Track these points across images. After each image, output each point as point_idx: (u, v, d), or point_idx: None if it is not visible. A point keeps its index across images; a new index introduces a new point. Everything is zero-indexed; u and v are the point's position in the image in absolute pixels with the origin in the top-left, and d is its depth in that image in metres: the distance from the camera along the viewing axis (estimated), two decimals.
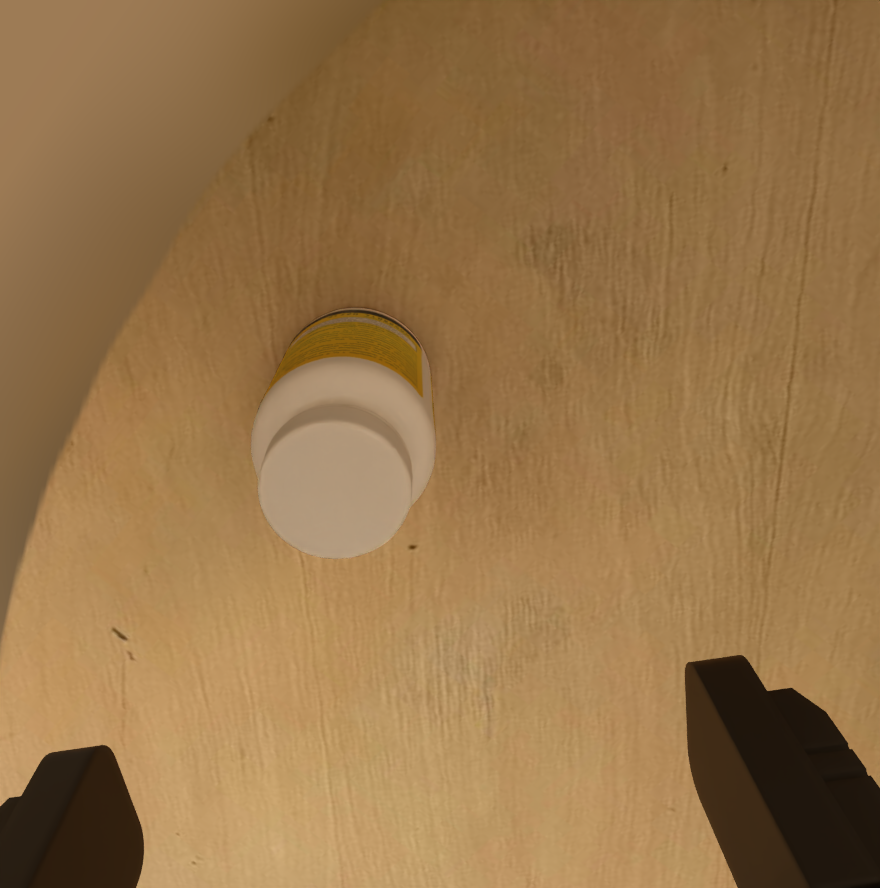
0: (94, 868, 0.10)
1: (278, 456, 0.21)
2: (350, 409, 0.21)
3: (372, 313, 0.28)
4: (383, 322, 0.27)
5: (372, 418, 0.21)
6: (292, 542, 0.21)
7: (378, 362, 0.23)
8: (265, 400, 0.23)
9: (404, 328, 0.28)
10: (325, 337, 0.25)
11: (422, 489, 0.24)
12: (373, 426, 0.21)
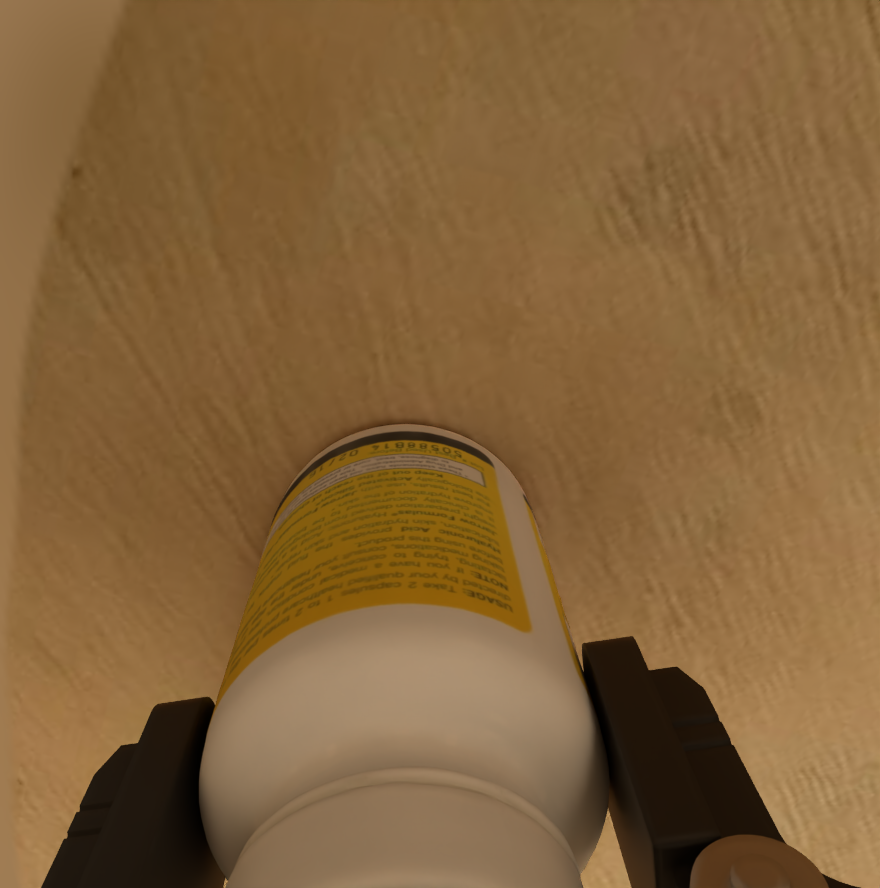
0: None
1: None
2: (369, 801, 0.08)
3: (384, 437, 0.15)
4: (407, 452, 0.14)
5: (430, 806, 0.08)
6: None
7: (409, 601, 0.10)
8: (201, 767, 0.10)
9: (450, 441, 0.15)
10: (298, 548, 0.12)
11: (602, 823, 0.11)
12: (437, 851, 0.08)
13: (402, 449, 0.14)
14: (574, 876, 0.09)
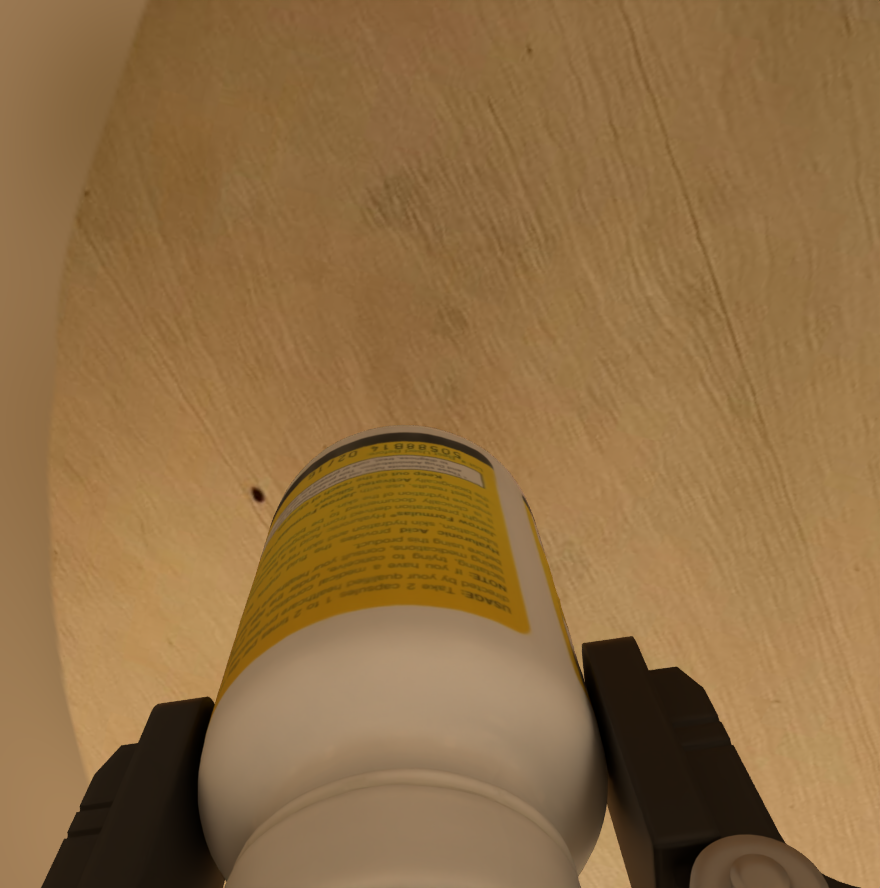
0: None
1: None
2: (367, 803, 0.08)
3: (383, 438, 0.15)
4: (406, 453, 0.14)
5: (428, 807, 0.08)
6: None
7: (407, 602, 0.10)
8: (200, 768, 0.10)
9: (449, 442, 0.15)
10: (297, 549, 0.12)
11: (601, 825, 0.11)
12: (435, 853, 0.08)
13: (401, 450, 0.14)
14: (572, 877, 0.09)
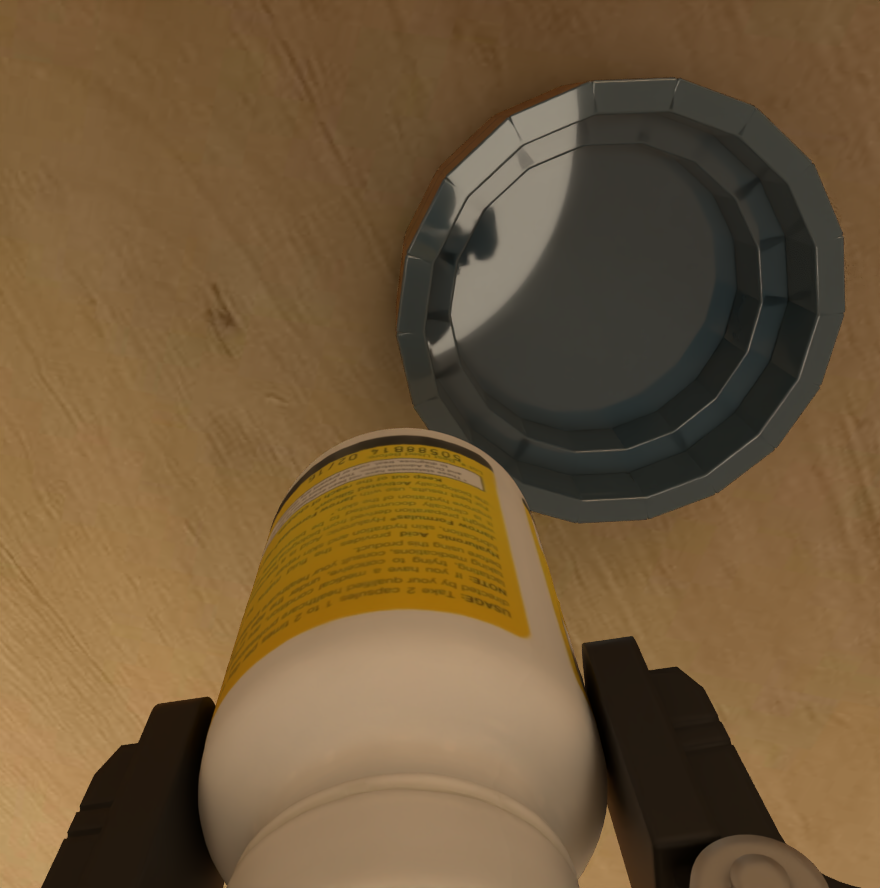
0: None
1: None
2: (367, 808, 0.08)
3: (383, 441, 0.15)
4: (406, 456, 0.14)
5: (428, 812, 0.08)
6: None
7: (406, 607, 0.10)
8: (200, 772, 0.10)
9: (449, 445, 0.15)
10: (297, 552, 0.12)
11: (601, 828, 0.11)
12: (435, 858, 0.08)
13: (401, 453, 0.15)
14: (572, 882, 0.09)
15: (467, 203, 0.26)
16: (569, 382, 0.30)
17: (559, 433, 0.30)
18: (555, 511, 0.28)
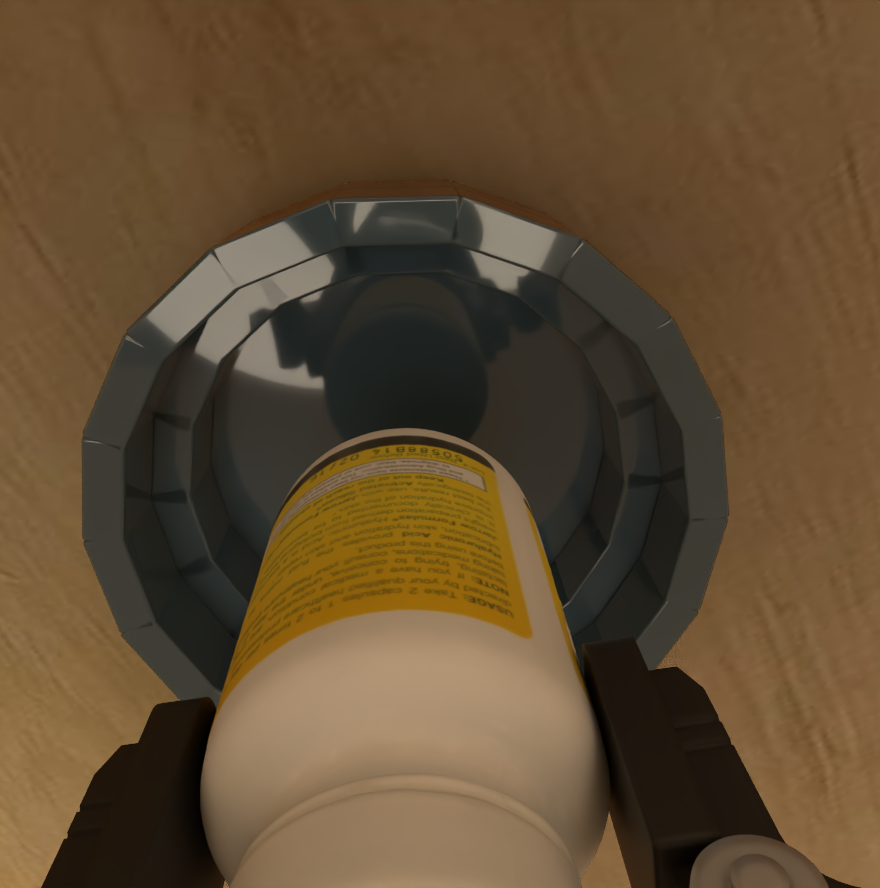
0: None
1: None
2: (370, 808, 0.08)
3: (384, 442, 0.15)
4: (407, 456, 0.14)
5: (431, 813, 0.08)
6: None
7: (409, 607, 0.10)
8: (203, 773, 0.10)
9: (450, 445, 0.15)
10: (299, 553, 0.12)
11: (603, 829, 0.11)
12: (438, 858, 0.08)
13: (403, 453, 0.15)
14: (575, 882, 0.09)
15: (198, 351, 0.18)
16: None
17: None
18: None
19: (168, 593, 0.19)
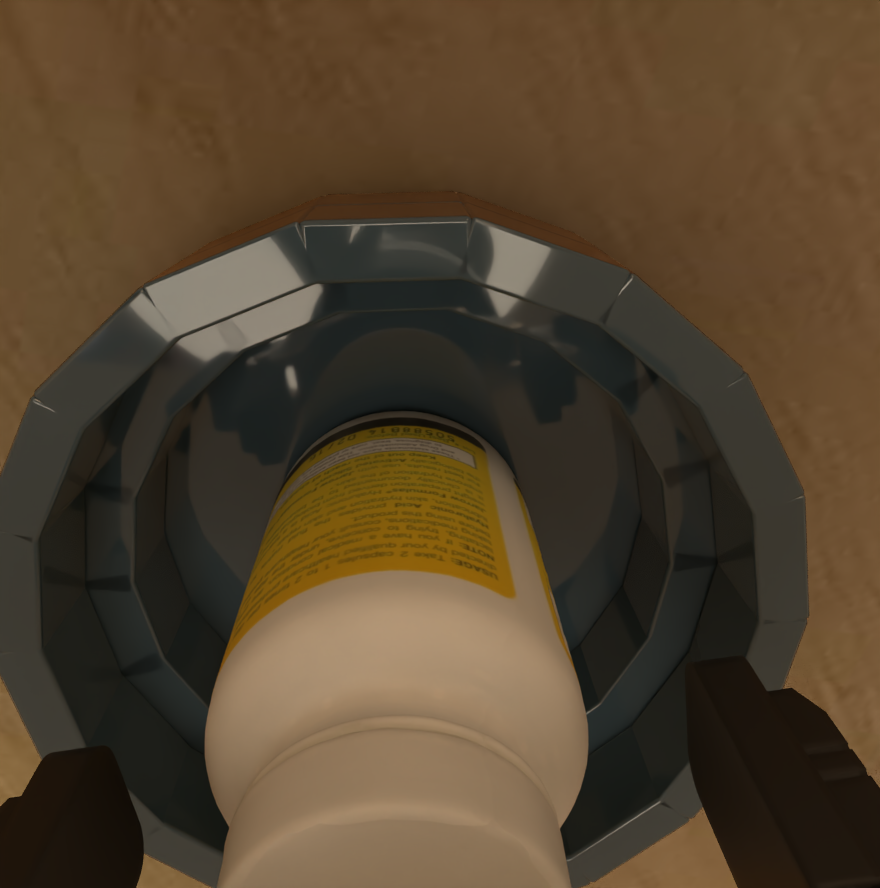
0: (94, 868, 0.10)
1: None
2: (361, 744, 0.09)
3: (380, 423, 0.16)
4: (402, 436, 0.15)
5: (417, 747, 0.09)
6: None
7: (399, 568, 0.11)
8: (207, 723, 0.11)
9: (443, 426, 0.16)
10: (298, 523, 0.13)
11: (582, 778, 0.11)
12: (422, 785, 0.08)
13: (397, 434, 0.15)
14: (550, 816, 0.09)
15: (139, 407, 0.14)
16: None
17: None
18: None
19: (106, 704, 0.16)
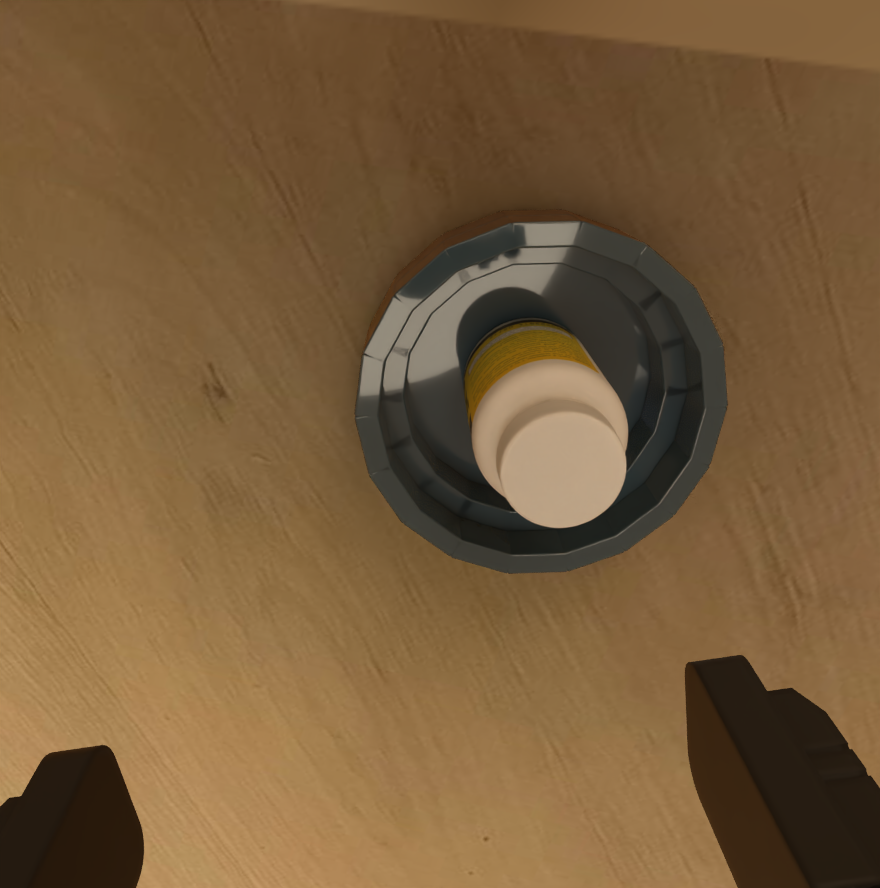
0: (94, 868, 0.10)
1: (510, 458, 0.25)
2: (552, 402, 0.25)
3: (523, 321, 0.32)
4: (536, 325, 0.32)
5: (571, 403, 0.25)
6: (542, 522, 0.26)
7: (554, 358, 0.27)
8: (476, 420, 0.28)
9: (553, 323, 0.33)
10: (499, 355, 0.30)
11: (625, 447, 0.28)
12: (576, 409, 0.25)
13: (533, 324, 0.32)
14: None
15: (417, 309, 0.31)
16: None
17: (499, 494, 0.36)
18: (489, 563, 0.33)
19: (391, 455, 0.32)
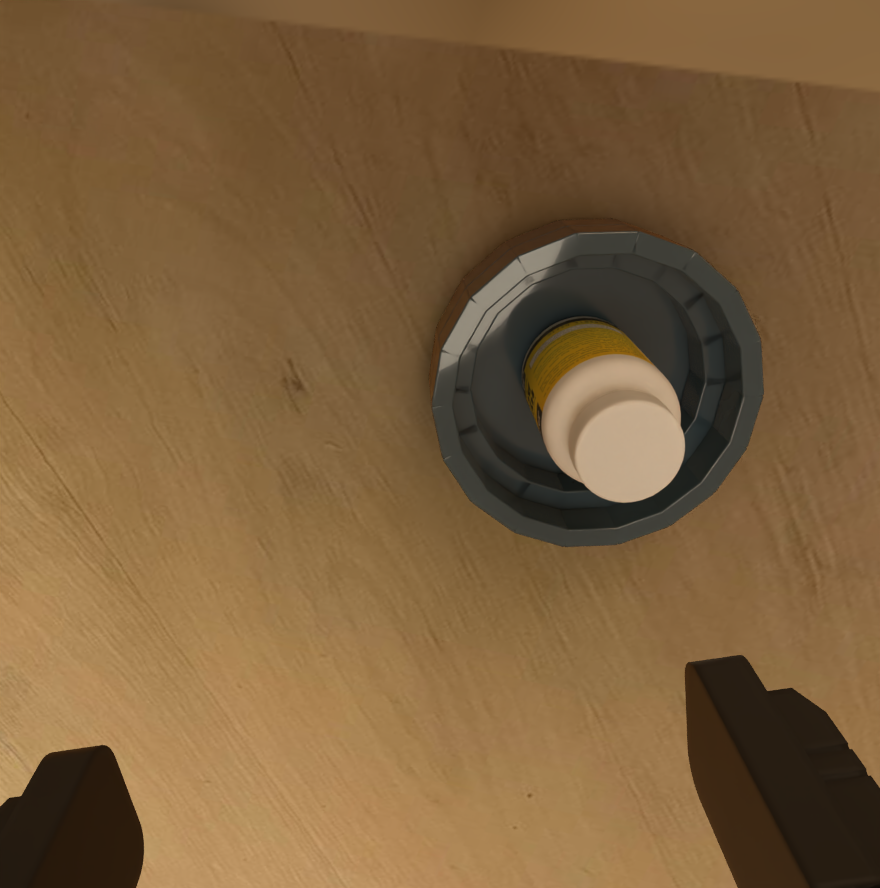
0: (94, 868, 0.10)
1: (584, 441, 0.29)
2: (619, 392, 0.29)
3: (578, 319, 0.36)
4: (591, 323, 0.35)
5: (637, 393, 0.29)
6: (610, 498, 0.30)
7: (616, 353, 0.31)
8: (548, 409, 0.31)
9: (605, 321, 0.36)
10: (562, 350, 0.33)
11: None
12: (642, 398, 0.29)
13: (588, 322, 0.35)
14: None
15: None
16: None
17: (552, 476, 0.39)
18: (548, 537, 0.36)
19: (460, 441, 0.36)
